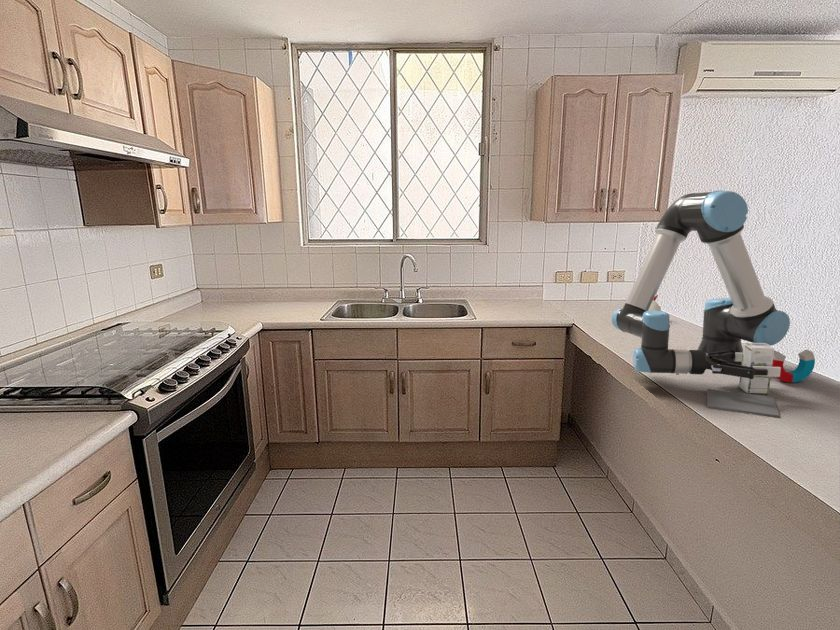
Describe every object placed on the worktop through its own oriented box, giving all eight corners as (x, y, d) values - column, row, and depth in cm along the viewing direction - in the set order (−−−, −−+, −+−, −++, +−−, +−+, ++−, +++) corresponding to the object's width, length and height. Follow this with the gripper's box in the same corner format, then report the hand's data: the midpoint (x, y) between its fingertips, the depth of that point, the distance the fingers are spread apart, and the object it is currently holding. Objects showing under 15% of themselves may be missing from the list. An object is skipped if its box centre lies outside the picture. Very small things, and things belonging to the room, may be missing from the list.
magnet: (806, 379, 144) (810, 349, 142) (812, 382, 141) (816, 351, 139) (766, 380, 145) (769, 350, 143) (772, 383, 142) (775, 352, 140)
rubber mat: (707, 390, 140) (707, 388, 139) (772, 398, 131) (772, 396, 131) (707, 407, 128) (707, 405, 128) (779, 417, 120) (779, 415, 119)
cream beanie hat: (666, 324, 220) (668, 294, 217) (636, 325, 223) (637, 294, 220) (657, 318, 234) (658, 289, 230) (628, 318, 236) (629, 290, 233)
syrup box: (759, 387, 140) (764, 342, 137) (769, 394, 134) (774, 347, 131) (738, 387, 141) (742, 341, 138) (747, 394, 135) (752, 347, 132)
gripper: (677, 361, 153) (751, 363, 147) (699, 387, 130) (787, 391, 124) (679, 339, 152) (753, 341, 146) (701, 362, 128) (790, 365, 122)
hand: (769, 364), depth 135 cm, fingers open, 13 cm apart
